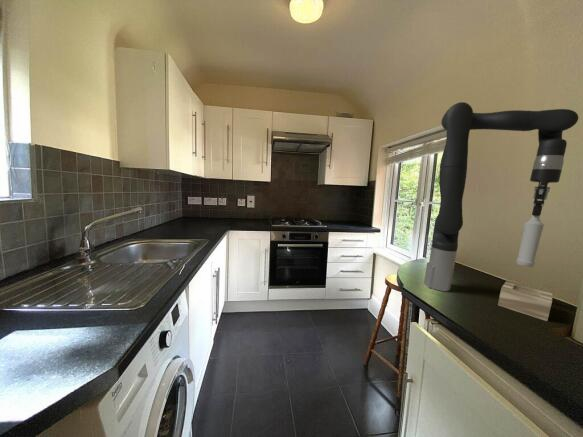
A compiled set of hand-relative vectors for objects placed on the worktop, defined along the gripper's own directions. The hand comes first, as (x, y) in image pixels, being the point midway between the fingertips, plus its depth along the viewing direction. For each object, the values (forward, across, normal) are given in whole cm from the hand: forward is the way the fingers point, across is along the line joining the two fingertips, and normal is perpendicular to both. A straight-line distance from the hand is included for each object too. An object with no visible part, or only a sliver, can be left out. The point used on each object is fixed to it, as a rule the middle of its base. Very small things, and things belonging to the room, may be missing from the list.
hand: (536, 215), depth 91 cm
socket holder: (+35, -5, -2) cm, 35 cm away
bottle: (+20, 0, 0) cm, 20 cm away
